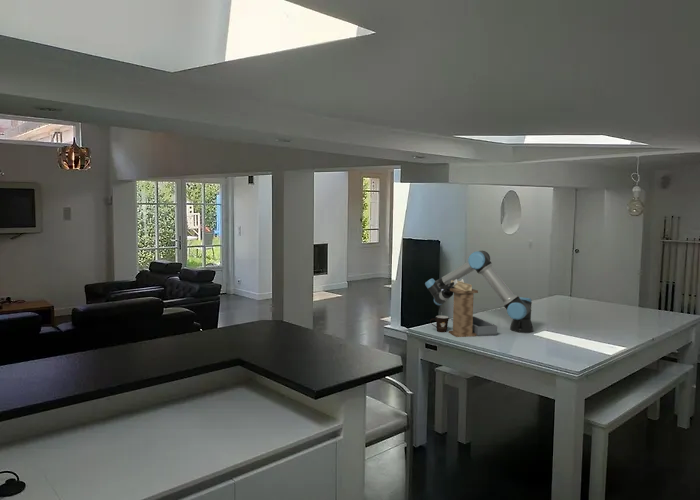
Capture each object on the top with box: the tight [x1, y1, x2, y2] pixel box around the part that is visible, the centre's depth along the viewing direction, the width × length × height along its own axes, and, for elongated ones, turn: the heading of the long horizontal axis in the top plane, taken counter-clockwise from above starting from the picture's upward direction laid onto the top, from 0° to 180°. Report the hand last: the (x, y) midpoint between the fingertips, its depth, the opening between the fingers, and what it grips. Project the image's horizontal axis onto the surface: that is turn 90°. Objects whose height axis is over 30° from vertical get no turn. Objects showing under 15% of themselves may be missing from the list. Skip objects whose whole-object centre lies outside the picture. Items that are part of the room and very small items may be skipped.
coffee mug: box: [430, 315, 450, 333], centre depth 359 cm, size 12×9×10 cm
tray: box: [472, 315, 498, 337], centre depth 365 cm, size 14×32×6 cm, turn 15°
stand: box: [448, 288, 479, 338], centre depth 350 cm, size 14×12×30 cm
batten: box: [451, 280, 473, 291], centre depth 353 cm, size 4×22×4 cm, turn 15°
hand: (459, 281), depth 354 cm, fingers closed on batten, 4 cm apart
